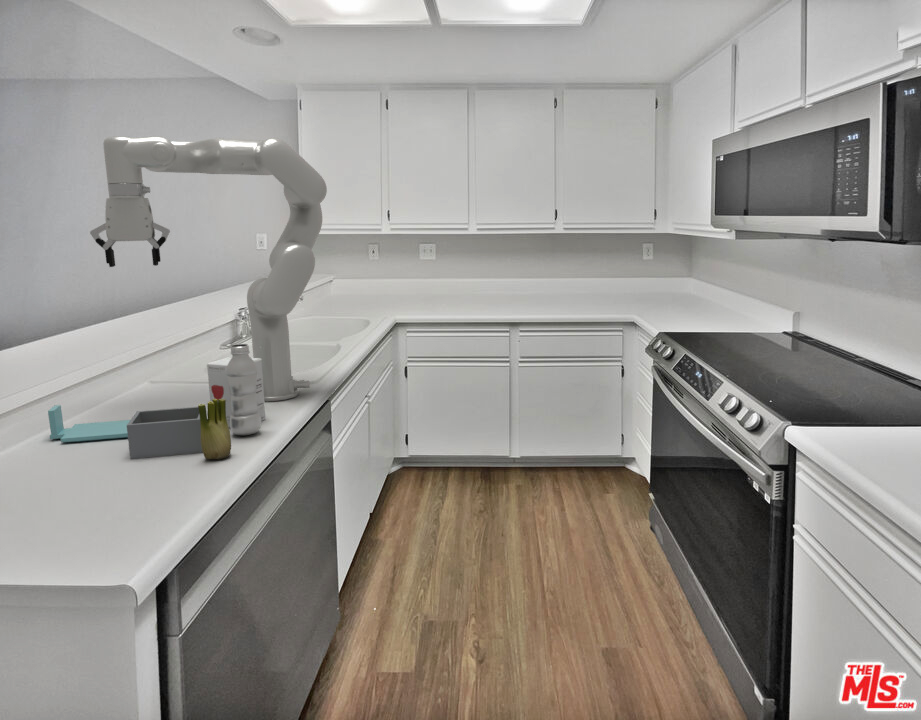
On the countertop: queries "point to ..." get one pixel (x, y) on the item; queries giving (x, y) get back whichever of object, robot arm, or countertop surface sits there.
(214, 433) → the fennel bulb
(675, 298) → the countertop surface
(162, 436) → the tub
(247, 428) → the plastic bottle
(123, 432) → the lid
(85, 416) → the countertop surface
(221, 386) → the supplement box
